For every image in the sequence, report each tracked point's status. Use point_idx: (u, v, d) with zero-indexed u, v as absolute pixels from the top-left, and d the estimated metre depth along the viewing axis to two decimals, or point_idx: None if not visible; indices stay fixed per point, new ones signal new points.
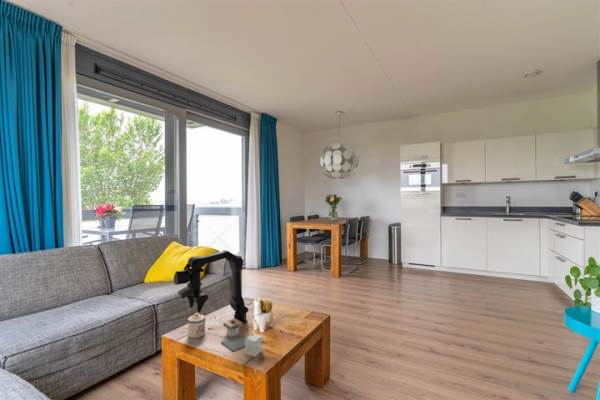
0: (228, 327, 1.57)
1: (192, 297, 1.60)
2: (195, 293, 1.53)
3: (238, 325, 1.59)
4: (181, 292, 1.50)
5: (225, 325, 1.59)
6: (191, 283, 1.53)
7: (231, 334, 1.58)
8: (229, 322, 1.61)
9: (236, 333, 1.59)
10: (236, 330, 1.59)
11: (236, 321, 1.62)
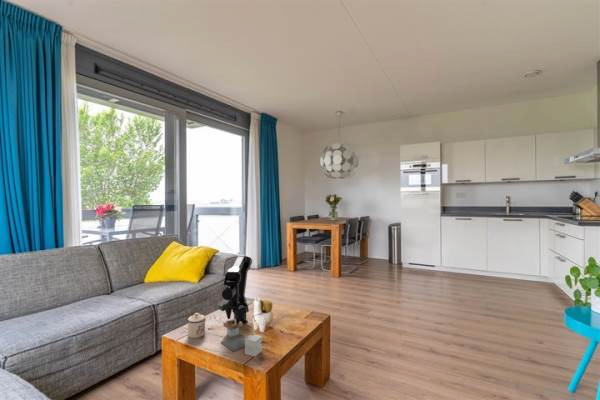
0: (228, 327, 1.57)
1: (229, 309, 1.65)
2: (234, 305, 1.58)
3: (238, 325, 1.59)
4: (221, 305, 1.54)
5: (225, 325, 1.59)
6: None
7: (231, 334, 1.58)
8: (229, 322, 1.61)
9: (236, 333, 1.59)
10: (236, 330, 1.59)
11: None
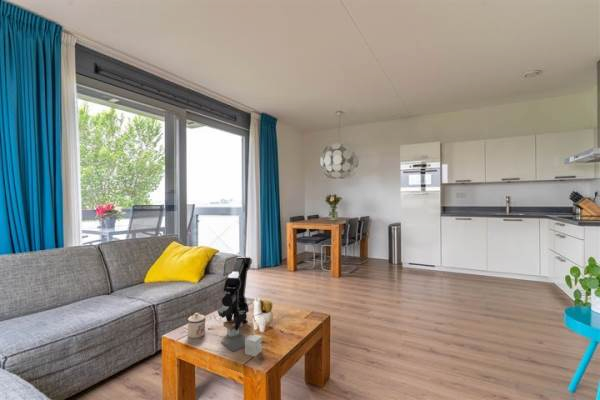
0: (228, 327, 1.57)
1: (230, 315, 1.64)
2: (234, 312, 1.58)
3: None
4: (221, 311, 1.54)
5: (225, 325, 1.59)
6: None
7: (231, 334, 1.58)
8: (229, 322, 1.61)
9: (236, 333, 1.59)
10: None
11: None
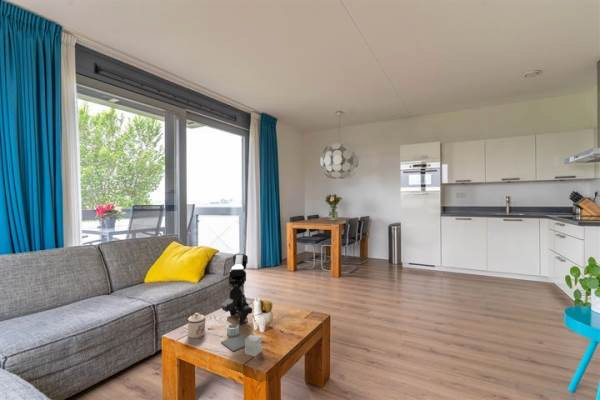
0: (232, 322, 1.46)
1: (234, 309, 1.54)
2: (238, 306, 1.47)
3: None
4: (225, 305, 1.44)
5: (229, 320, 1.48)
6: None
7: (231, 334, 1.58)
8: (233, 317, 1.50)
9: (236, 333, 1.59)
10: (236, 330, 1.59)
11: None
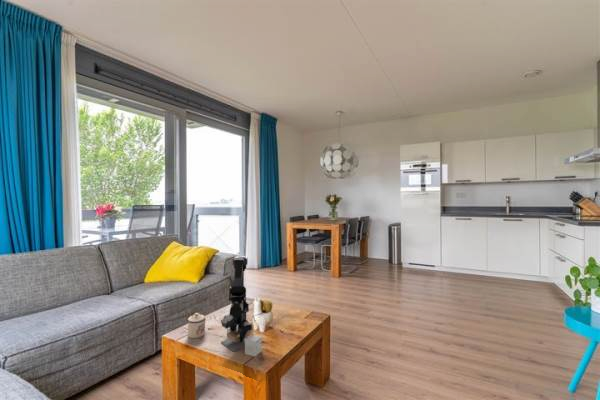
0: (232, 338, 1.46)
1: (234, 325, 1.54)
2: (238, 322, 1.47)
3: None
4: (225, 322, 1.44)
5: (229, 336, 1.49)
6: None
7: None
8: (233, 333, 1.50)
9: None
10: None
11: None
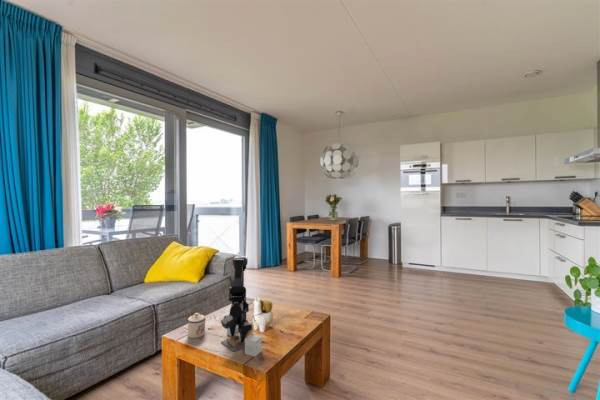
0: (232, 343, 1.46)
1: (233, 325, 1.54)
2: (238, 322, 1.47)
3: None
4: (225, 322, 1.44)
5: (229, 341, 1.49)
6: None
7: None
8: (233, 338, 1.50)
9: (236, 333, 1.59)
10: (236, 330, 1.59)
11: None
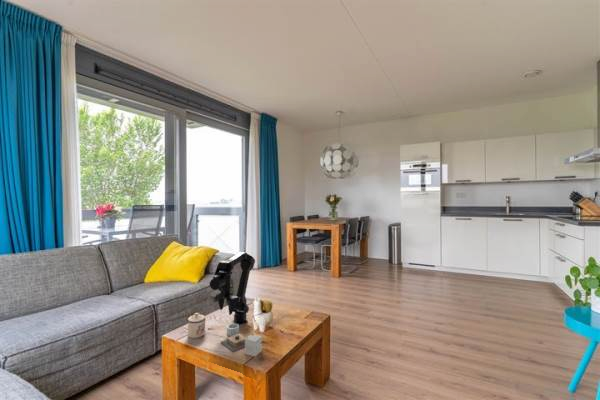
0: (232, 343, 1.46)
1: (222, 299, 1.64)
2: (226, 296, 1.58)
3: (243, 341, 1.48)
4: (214, 295, 1.54)
5: (229, 341, 1.49)
6: (222, 286, 1.57)
7: (231, 334, 1.58)
8: (233, 338, 1.50)
9: (236, 333, 1.59)
10: (236, 330, 1.59)
11: (240, 336, 1.51)
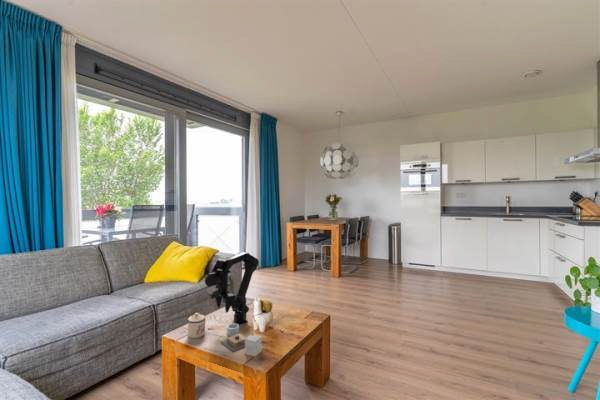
0: (232, 343, 1.46)
1: (219, 297, 1.67)
2: (223, 294, 1.60)
3: (243, 341, 1.48)
4: (210, 293, 1.57)
5: (229, 341, 1.49)
6: (219, 284, 1.60)
7: (231, 334, 1.58)
8: (233, 338, 1.50)
9: (236, 333, 1.59)
10: (236, 330, 1.59)
11: (240, 336, 1.51)
